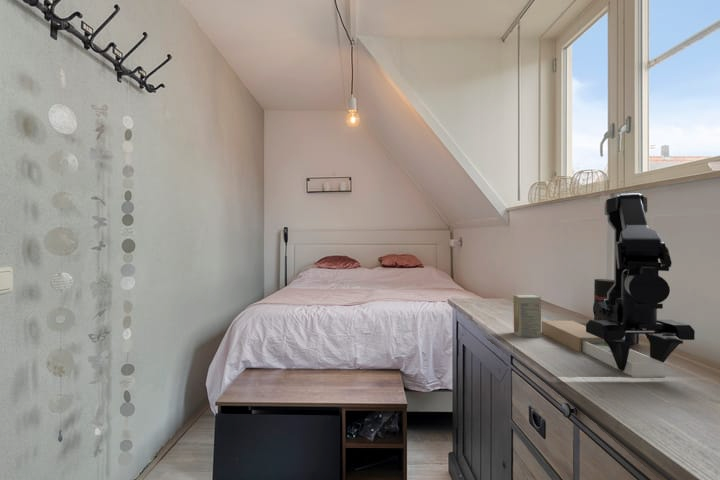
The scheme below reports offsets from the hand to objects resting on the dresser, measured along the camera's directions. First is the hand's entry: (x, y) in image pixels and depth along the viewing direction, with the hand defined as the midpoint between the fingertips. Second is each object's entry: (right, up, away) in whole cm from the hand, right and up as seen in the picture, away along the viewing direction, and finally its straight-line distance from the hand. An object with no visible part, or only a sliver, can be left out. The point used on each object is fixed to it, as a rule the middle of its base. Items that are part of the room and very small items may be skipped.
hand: (637, 370), depth 69 cm
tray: (0, -1, +5) cm, 6 cm away
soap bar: (0, 0, +9) cm, 10 cm away
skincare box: (-10, -1, +25) cm, 27 cm away
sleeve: (0, -1, +19) cm, 20 cm away
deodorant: (+22, -1, +39) cm, 45 cm away
